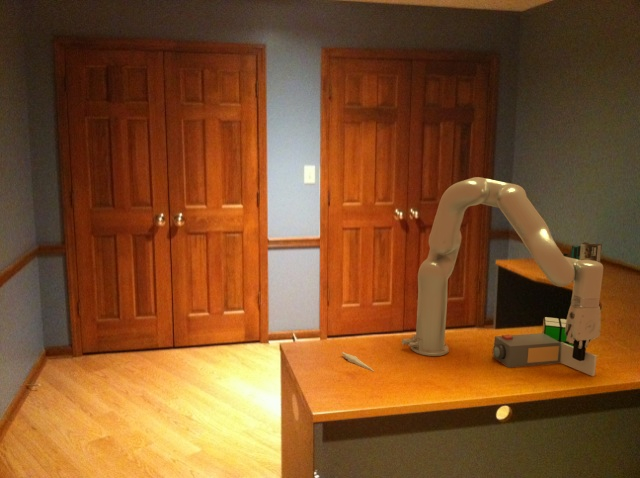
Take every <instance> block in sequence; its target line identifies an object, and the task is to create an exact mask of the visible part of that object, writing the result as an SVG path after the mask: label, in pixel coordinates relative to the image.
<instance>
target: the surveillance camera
mask: <svg viewBox="0 0 640 478" xmlns="http://www.w3.org/2000/svg"><path fill="white" fill-rule="evenodd" d="M580 249H581V245H574V244H573V245H571V250H570V251H569V254H568V253H562V254H563V255H564V256H565V257H569V258H573V259H578V260H580Z"/></svg>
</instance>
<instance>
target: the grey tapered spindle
mask: <svg viewBox="0 0 640 478" xmlns="http://www.w3.org/2000/svg"><path fill="white" fill-rule="evenodd" d="M341 355H342V358H344V359H345V360H346V361H348V362H350V363H351V364H355V365H356V366H359V367H361V368H364V369H365V370H368V371H371V372H375V370H374V369H372V368H371V366H368V365H367V364H366V363H364V362H363V361H361V360H360V359H359V358H358V357H357V356H356V355H354V354H353V355H352V354H349V353H346V352H344V351H342V352H341Z"/></svg>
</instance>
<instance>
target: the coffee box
mask: <svg viewBox="0 0 640 478" xmlns="http://www.w3.org/2000/svg"><path fill="white" fill-rule="evenodd" d="M580 246H581V249H580V260H592V261H597V262H600V263H601V255H602V244H601V243H592V242H586V241H585V242H583V243H580Z"/></svg>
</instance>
